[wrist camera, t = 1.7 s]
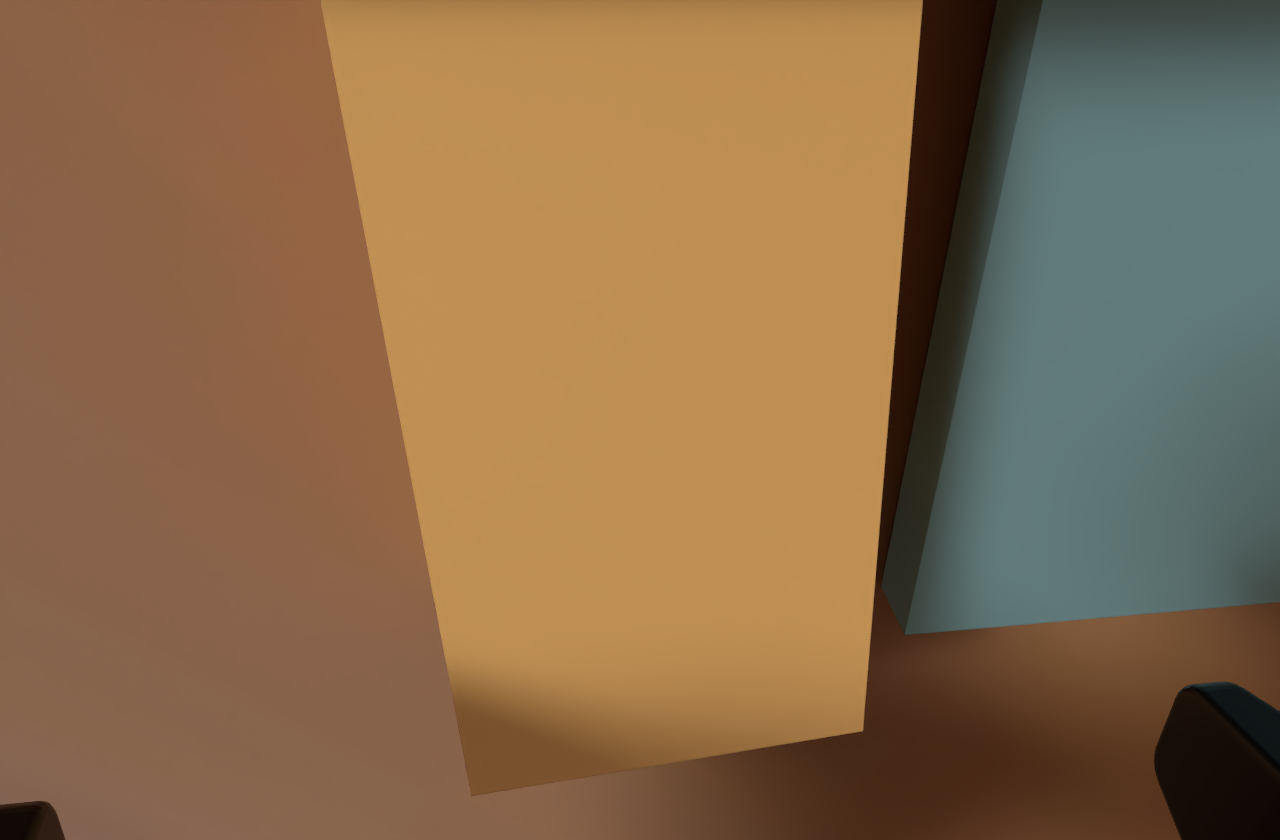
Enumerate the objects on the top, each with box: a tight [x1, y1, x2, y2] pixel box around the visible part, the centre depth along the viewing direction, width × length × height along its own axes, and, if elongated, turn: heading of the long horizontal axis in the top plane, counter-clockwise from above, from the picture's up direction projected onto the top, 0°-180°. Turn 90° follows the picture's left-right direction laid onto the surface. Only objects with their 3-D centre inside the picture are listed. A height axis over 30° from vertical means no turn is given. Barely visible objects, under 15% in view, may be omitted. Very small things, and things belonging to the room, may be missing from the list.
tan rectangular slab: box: [320, 0, 923, 796], centre depth 12 cm, size 13×4×4 cm, turn 3°
